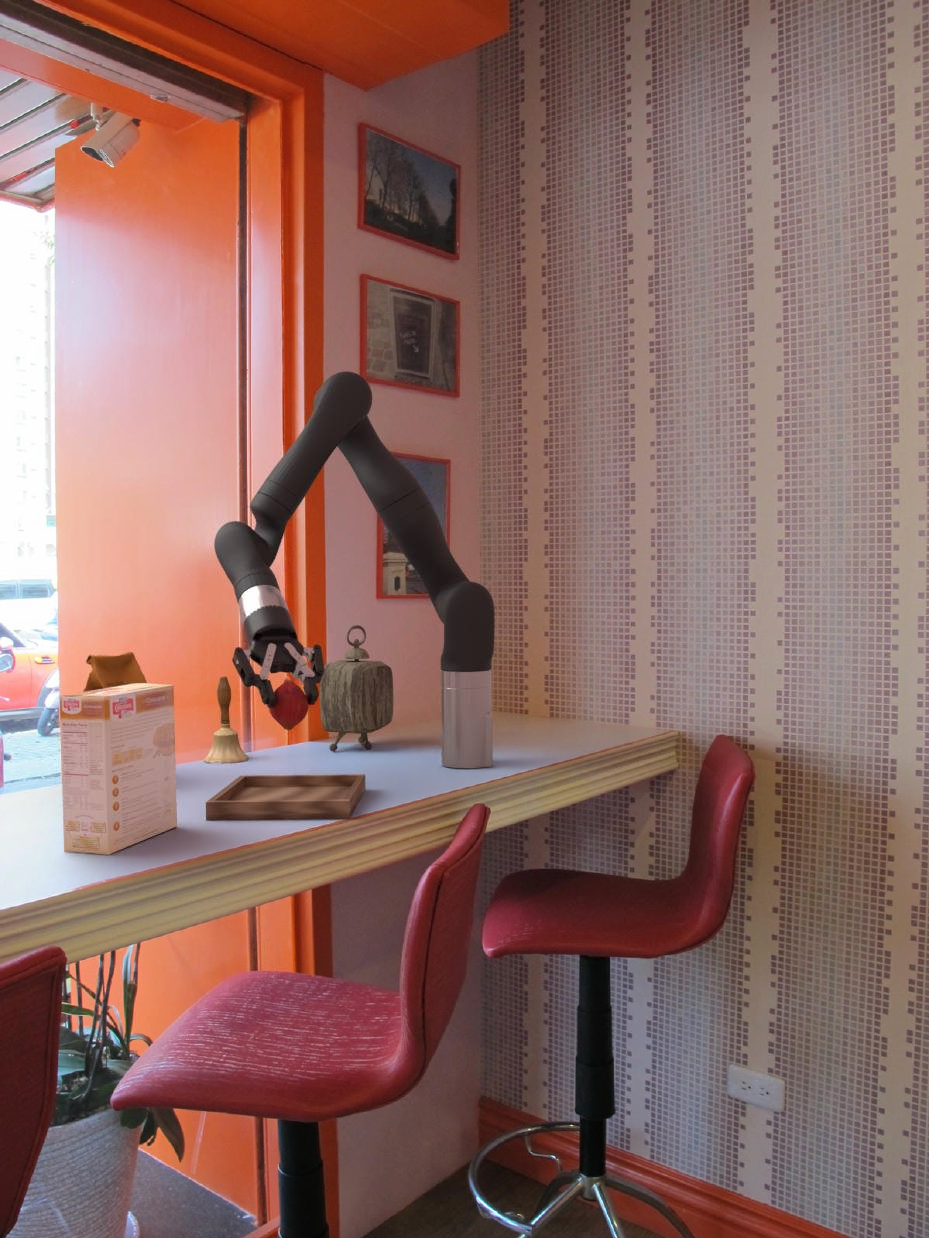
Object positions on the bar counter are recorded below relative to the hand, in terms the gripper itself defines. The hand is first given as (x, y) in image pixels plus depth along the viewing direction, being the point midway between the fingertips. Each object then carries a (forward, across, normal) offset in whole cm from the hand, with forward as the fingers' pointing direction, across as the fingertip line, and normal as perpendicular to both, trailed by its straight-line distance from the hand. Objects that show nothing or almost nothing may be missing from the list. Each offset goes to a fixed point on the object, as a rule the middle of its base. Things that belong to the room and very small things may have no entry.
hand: (292, 702), depth 145 cm
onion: (+2, 0, +4) cm, 5 cm away
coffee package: (-12, -20, +34) cm, 42 cm away
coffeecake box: (+16, -26, +6) cm, 31 cm away
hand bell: (-21, +3, +44) cm, 49 cm away
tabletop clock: (-20, +30, +43) cm, 56 cm away
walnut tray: (+10, 0, +12) cm, 15 cm away
